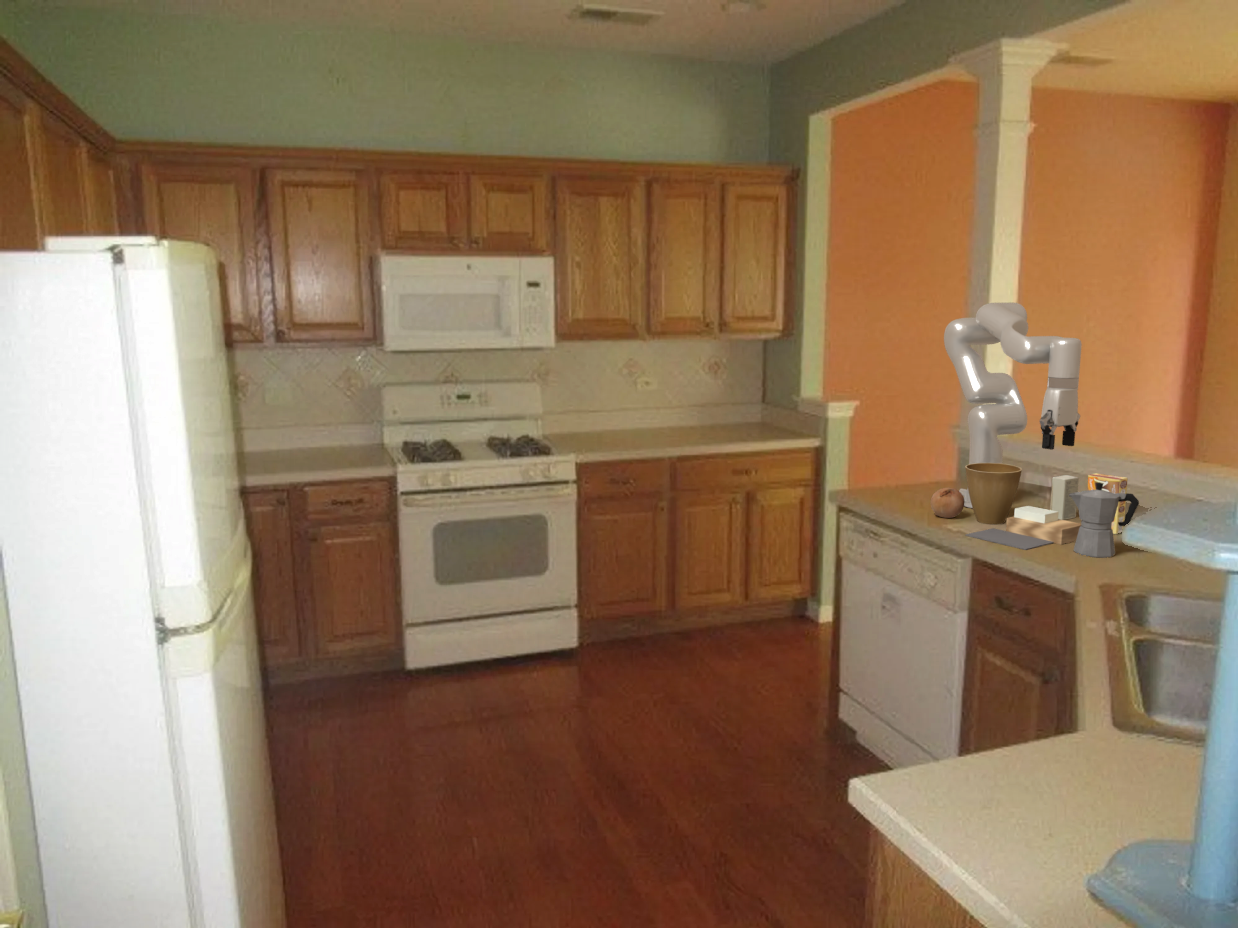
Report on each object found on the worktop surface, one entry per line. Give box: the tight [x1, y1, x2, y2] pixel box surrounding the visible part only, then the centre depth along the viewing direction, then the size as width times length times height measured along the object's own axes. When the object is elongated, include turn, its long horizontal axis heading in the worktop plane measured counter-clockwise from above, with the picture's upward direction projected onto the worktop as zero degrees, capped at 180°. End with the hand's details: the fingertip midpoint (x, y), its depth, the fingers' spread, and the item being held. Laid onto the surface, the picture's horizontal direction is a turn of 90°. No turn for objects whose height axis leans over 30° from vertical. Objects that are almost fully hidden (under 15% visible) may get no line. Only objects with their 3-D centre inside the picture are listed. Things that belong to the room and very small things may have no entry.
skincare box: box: [1049, 474, 1080, 521], centre depth 257 cm, size 6×4×12 cm
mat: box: [965, 527, 1055, 551], centre depth 236 cm, size 18×12×1 cm, turn 32°
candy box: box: [1086, 472, 1128, 535], centre depth 242 cm, size 9×4×15 cm, turn 33°
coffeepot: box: [1069, 482, 1140, 559], centre depth 220 cm, size 15×9×18 cm, turn 69°
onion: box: [930, 487, 965, 519], centre depth 261 cm, size 10×9×10 cm
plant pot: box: [964, 462, 1023, 525], centre depth 254 cm, size 15×15×16 cm
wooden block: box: [1005, 516, 1081, 546], centre depth 238 cm, size 16×10×4 cm, turn 32°
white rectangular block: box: [1013, 505, 1059, 523], centre depth 241 cm, size 9×6×2 cm, turn 32°
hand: (1058, 447), depth 241 cm, fingers open, 8 cm apart
